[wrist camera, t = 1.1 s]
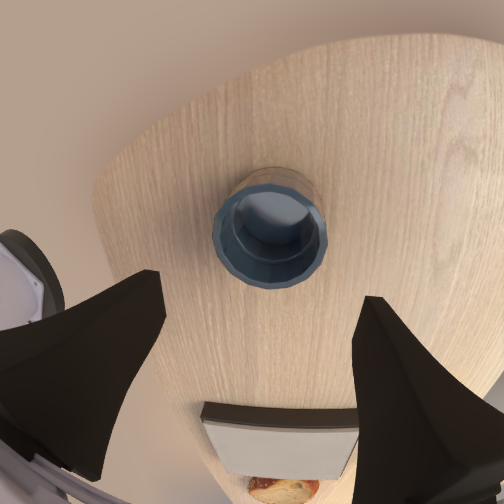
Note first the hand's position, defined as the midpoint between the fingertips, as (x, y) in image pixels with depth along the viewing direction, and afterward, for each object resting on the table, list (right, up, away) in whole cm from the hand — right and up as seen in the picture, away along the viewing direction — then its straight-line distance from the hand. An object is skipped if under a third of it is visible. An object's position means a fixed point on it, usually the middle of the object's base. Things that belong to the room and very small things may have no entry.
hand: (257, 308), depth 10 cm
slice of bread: (+6, -41, +31) cm, 52 cm away
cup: (+1, +4, +8) cm, 10 cm away
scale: (+4, -22, +22) cm, 31 cm away
